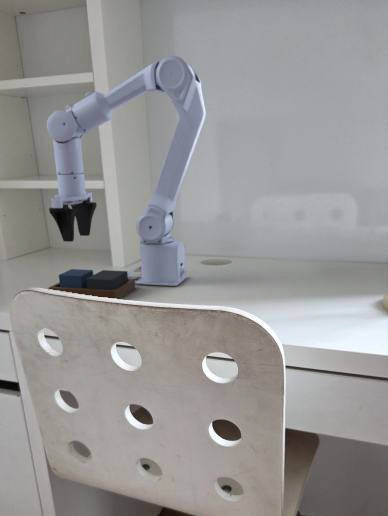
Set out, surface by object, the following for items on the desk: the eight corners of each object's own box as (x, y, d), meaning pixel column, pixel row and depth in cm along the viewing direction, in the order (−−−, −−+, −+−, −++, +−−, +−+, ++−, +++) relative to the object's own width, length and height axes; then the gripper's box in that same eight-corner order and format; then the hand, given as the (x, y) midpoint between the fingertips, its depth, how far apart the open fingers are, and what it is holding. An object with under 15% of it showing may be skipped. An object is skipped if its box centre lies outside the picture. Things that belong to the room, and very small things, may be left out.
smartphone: (123, 275, 119) (146, 261, 132) (123, 279, 119) (147, 265, 132) (153, 276, 117) (174, 262, 130) (153, 280, 117) (174, 266, 130)
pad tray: (135, 288, 111) (134, 278, 110) (116, 301, 102) (115, 291, 101) (73, 285, 115) (72, 275, 114) (49, 297, 106) (48, 287, 105)
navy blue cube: (94, 286, 111) (92, 270, 110) (82, 293, 106) (80, 275, 105) (73, 285, 112) (71, 269, 111) (60, 292, 107) (58, 274, 106)
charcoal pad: (128, 287, 110) (127, 271, 109) (113, 296, 103) (112, 279, 102) (104, 285, 111) (102, 270, 110) (87, 295, 105) (86, 278, 103)
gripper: (70, 172, 119) (76, 232, 124) (35, 176, 106) (43, 243, 111) (98, 171, 117) (103, 233, 122) (66, 175, 104) (73, 244, 109)
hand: (76, 238), depth 116 cm, fingers open, 7 cm apart
